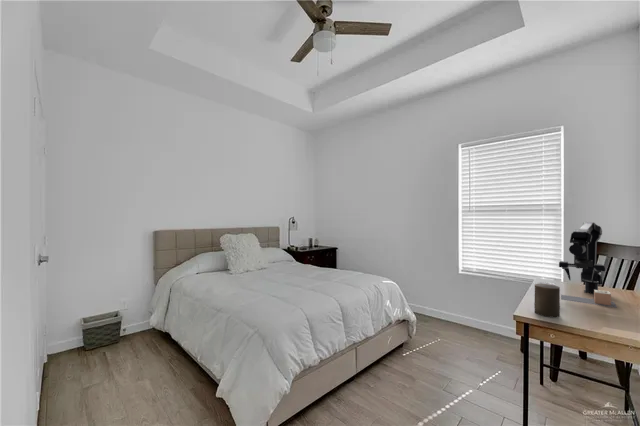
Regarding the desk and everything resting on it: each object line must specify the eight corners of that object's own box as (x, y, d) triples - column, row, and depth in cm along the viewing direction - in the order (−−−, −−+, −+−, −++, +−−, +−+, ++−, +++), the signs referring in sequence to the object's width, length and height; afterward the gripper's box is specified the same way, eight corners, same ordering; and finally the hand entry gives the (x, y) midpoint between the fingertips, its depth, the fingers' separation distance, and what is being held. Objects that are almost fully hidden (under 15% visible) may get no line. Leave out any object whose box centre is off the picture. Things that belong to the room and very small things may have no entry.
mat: (561, 295, 170) (560, 294, 170) (614, 302, 156) (614, 301, 156) (560, 300, 161) (560, 299, 161) (617, 308, 147) (617, 307, 147)
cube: (609, 291, 155) (609, 302, 155) (594, 289, 158) (594, 300, 159) (610, 293, 150) (610, 305, 150) (595, 291, 154) (595, 303, 154)
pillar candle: (556, 319, 133) (556, 286, 133) (531, 313, 141) (531, 282, 141) (562, 314, 139) (562, 283, 139) (538, 309, 147) (538, 279, 147)
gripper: (559, 253, 159) (559, 281, 159) (606, 256, 147) (606, 287, 147) (559, 251, 168) (559, 278, 168) (603, 254, 156) (603, 283, 156)
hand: (580, 281), depth 160 cm, fingers open, 9 cm apart
